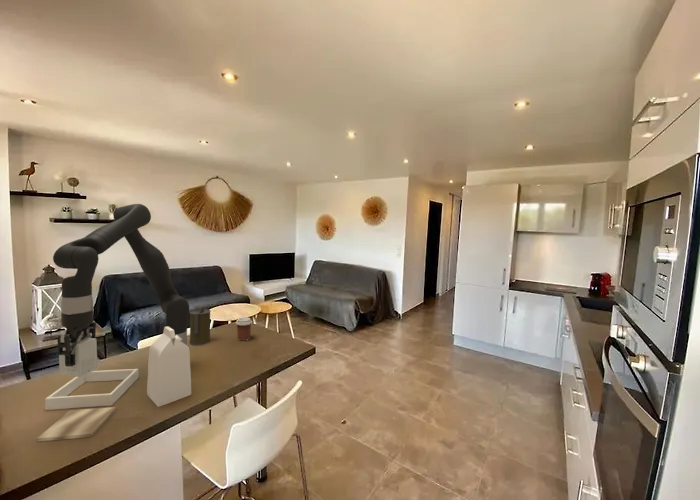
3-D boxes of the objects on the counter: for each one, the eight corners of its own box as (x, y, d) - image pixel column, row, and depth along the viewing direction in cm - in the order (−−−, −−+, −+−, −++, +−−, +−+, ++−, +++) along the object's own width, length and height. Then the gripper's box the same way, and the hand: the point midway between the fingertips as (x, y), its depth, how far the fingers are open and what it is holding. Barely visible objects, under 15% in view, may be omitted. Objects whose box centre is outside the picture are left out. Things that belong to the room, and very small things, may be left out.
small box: (97, 369, 99) (97, 338, 98) (79, 377, 93) (78, 344, 92) (78, 366, 100) (77, 335, 99) (58, 374, 95) (58, 341, 94)
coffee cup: (242, 343, 169) (242, 322, 168) (231, 339, 174) (232, 319, 173) (255, 338, 177) (255, 318, 176) (245, 335, 182) (245, 315, 181)
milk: (146, 394, 116) (146, 328, 114) (179, 383, 125) (179, 321, 123) (158, 407, 108) (157, 336, 107) (191, 394, 117) (191, 329, 115)
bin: (138, 377, 128) (138, 368, 127) (111, 405, 108) (111, 394, 108) (83, 380, 124) (83, 371, 123) (45, 410, 104) (45, 398, 104)
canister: (194, 338, 174) (194, 304, 172) (212, 338, 175) (213, 304, 173) (185, 345, 163) (186, 309, 161) (206, 345, 164) (206, 309, 162)
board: (116, 409, 106) (116, 406, 106) (91, 436, 92) (91, 433, 92) (69, 413, 103) (69, 410, 103) (36, 441, 89) (36, 438, 89)
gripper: (79, 303, 101) (79, 351, 103) (45, 316, 87) (47, 371, 89) (104, 303, 103) (105, 350, 104) (75, 316, 89) (76, 370, 90)
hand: (78, 360), depth 96 cm, fingers closed on small box, 7 cm apart
